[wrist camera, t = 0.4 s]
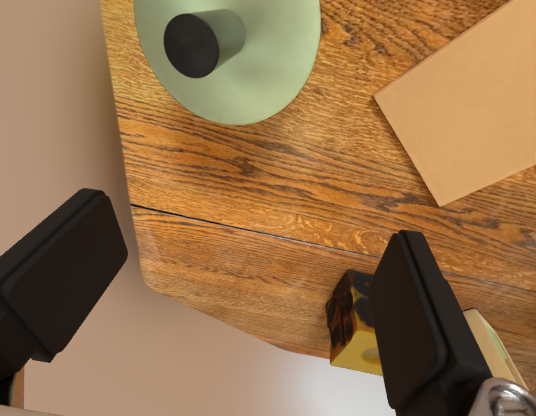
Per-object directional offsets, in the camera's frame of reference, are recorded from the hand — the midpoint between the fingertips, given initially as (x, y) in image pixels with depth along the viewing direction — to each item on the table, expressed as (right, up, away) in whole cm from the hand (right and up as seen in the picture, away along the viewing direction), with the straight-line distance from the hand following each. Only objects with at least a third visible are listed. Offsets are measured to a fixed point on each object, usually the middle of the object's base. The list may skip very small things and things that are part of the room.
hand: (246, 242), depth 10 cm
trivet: (+22, +11, +17) cm, 30 cm away
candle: (+16, -13, +36) cm, 41 cm away
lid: (-2, +13, +9) cm, 16 cm away
